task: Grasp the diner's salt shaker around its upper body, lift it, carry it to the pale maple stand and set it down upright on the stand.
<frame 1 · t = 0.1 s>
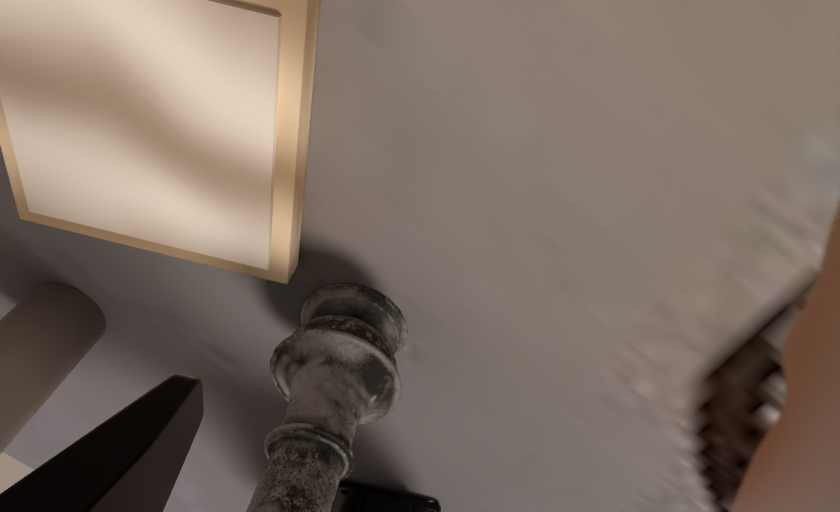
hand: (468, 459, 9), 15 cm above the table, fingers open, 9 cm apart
pepper shaker: (68, 312, 31), on the table
salt shaker: (354, 323, 28), on the table
maple stand: (160, 110, 23), on the table
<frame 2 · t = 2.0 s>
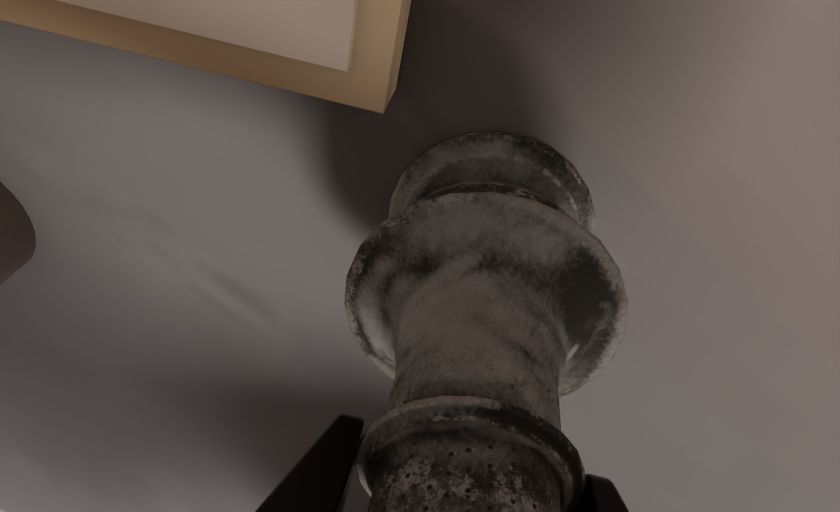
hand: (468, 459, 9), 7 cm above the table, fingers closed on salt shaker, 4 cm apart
salt shaker: (489, 223, 15), on the table, touching gripper
when the fingers open (9 cm above the table, at t = 4.5 s): salt shaker stays where it is, resting on maple stand.
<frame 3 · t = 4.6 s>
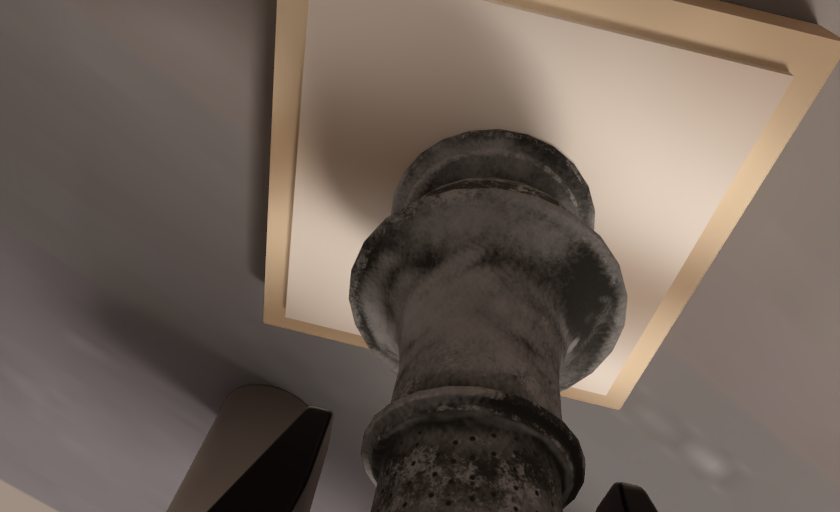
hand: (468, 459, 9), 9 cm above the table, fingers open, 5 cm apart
pepper shaker: (271, 417, 24), on the table
salt shaker: (490, 219, 15), point 2 cm above the table, touching maple stand
maple stand: (491, 188, 17), on the table
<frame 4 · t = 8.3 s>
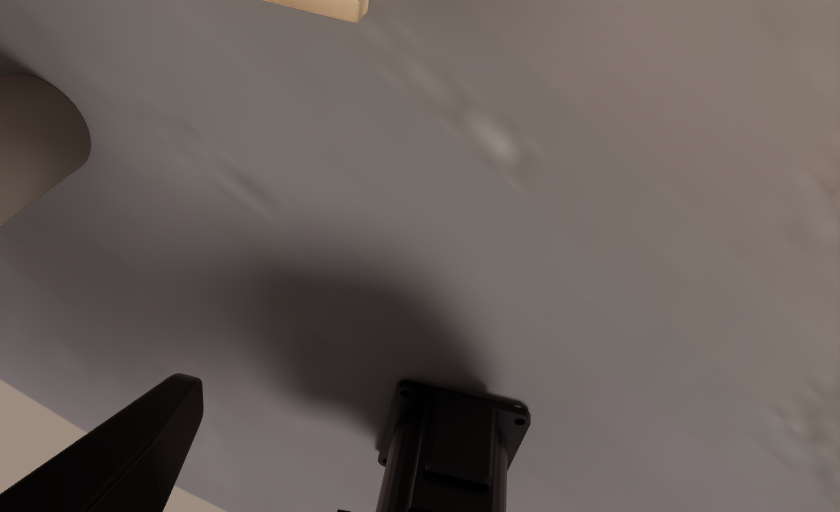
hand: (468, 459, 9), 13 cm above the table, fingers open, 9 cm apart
pepper shaker: (39, 125, 22), on the table
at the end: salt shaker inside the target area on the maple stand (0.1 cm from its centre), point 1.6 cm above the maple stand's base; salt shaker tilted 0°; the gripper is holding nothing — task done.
